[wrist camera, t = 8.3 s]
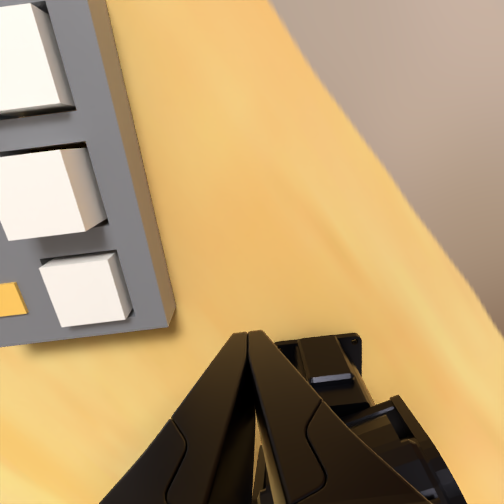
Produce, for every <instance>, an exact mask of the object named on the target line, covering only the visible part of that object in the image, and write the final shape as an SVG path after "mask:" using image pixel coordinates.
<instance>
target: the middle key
mask: <svg viewBox="0 0 504 504" xmlns="http://www.w3.org/2000/svg"><path fill="white" fill-rule="evenodd" d="M105 219H107V215H106V211H105V208H104V204H103V201H102V197H101V194H100V190H99V187H98V183H97V180H96V176H95V173H94V169H93V166H92V162H91V159H90V155H89V152H88V148H75V149H62V150H53V151H45V152H37V153H29V154H22V155H14V156H6V157H0V221H1V224H2V226H3V229H4V231H5V234H6V236H7V238H8V241H12V240H21V239H29V238H37V237H45V236H53V235H61V234H69V233H77V232H85V231H87V230H89V229H90V228H92V227H94V226H95V225H97V224H99V223H100V222H102V221H103V220H105Z"/></svg>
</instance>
